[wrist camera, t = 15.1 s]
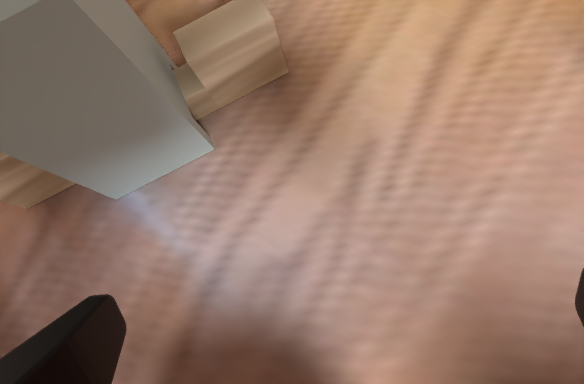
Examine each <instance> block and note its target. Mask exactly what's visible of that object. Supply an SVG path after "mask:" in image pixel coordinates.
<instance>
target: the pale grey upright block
mask: <svg viewBox="0 0 584 384" xmlns="http://www.w3.org/2000/svg"><path fill="white" fill-rule="evenodd" d="M176 68H178V67H177V66H176V65H175V64H174V62H173V61H172V60H171V58H170V57H169V56H168V55H167V53H166V52H165V51H164V49H163V48H162V47H161V46H160V44H159V43H158V42H157V40H156V39H155V38H154V37H153V35H152V34H151V33H150V31H149V30H148V29H147V28H146V26H145V25H144V24H143V22H142V21H141V20H140V19H139V17H138V16H137V15H136V13H135V12H134V11H133V10H132V8H131V7H130V6H129V4H128V3H127V2H126V1H125V0H0V152H2V153H4V154H7V155H9V156H12V157H14V158H17V159H19V160H21V161H24V162H26V163H29V164H31V165H33V166H36V167H38V168H41V169H43V170H45V171H48V172H50V173H53V174H55V175H57V176H60V177H62V178H65V179H67V180H69V181H72V182H74V183H77V184H79V185H81V186H84V187H86V188H89V189H91V190H93V191H96V192H98V193H101V194H103V195H105V196H108V197H110V198H113V199H115V200H117V199H119V198H121V197H123V196H125V195H126V194H128V193H130V192H132V191H134V190H136V189H138V188H140V187H142V186H144V185H146V184H148V183H150V182H152V181H154V180H156V179H158V178H160V177H162V176H164V175H166V174H168V173H170V172H172V171H174V170H176V169H178V168H179V167H181V166H183V165H185V164H187V163H189V162H191V161H193V160H195V159H197V158H199V157H201V156H203V155H205V154H207V153H209V152H211V151H213V150H215V148H214V146H213V144H212V141H211V139H210V137H209V135H208V134H207V133H206V132H205V131H204V130H203V129H202V127H201V126H200V125H199V124H198V123H197V122H196V121H195V120H194V119H193V117H192V115H191V113H190V111H189V108H188V106H187V104H186V101H185V99H184V97H183V95H182V92H181V90H180V88H179V85H178V83H177V81H176V78H175V76H174V74H173V72H172V70H174V69H176Z"/></svg>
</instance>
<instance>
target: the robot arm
mask: <svg viewBox="0 0 584 384" xmlns="http://www.w3.org/2000/svg"><path fill="white" fill-rule="evenodd" d="M575 307H576V311H577V313H578V316H579V318H580V320H581V322H582V324H583V327H584V268H583V270H582V273H581V277H580V281H579V285H578V289H577V293H576V297H575ZM125 335H126V322H125V320H124V318H123V316H122V313H121V311H120V309H119V307H118V305H117V303H116V301H115V299H114V297H112V296H111V295H108V294H105V295H93V296H89V297H88V298H86V299H85V300H83V301H82V302H81V303H79V304H78V305H76V306H75V307H73V308H72V309H71V310H69V311H68V312H66V313H65V314H63V315H62V316H61V317H59V318H58V319H56V320H55V321H53V322H52V323H51V324H49V325H48V326H46V327H45V328H44V329H42V330H41V331H39V332H38V333H36V334H35V335H34V336H32V337H31V338H29V339H28V340H26V341H25V342H24V343H22V344H21V345H19V346H18V347H16V348H15V349H14V350H12V351H11V352H9V353H8V354H6V355H5V356H4V357H2V358H1V359H0V384H112V380H113V377H114V373H115V370H116V366H117V363H118V359H119V356H120V353H121V349H122V346H123V342H124V339H125Z"/></svg>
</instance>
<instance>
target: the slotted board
mask: <svg viewBox="0 0 584 384" xmlns="http://www.w3.org/2000/svg"><path fill="white" fill-rule="evenodd" d="M173 34H174V36H175V38H176V40H177V42H178V45H179V47H180V49H181V51H182V53H183V55H184V57H185V59H186V62H187V63H185V64H183V65H182V66H180V67H178V68H176V69H174V70H172V72H173V74H174V76H175V78H176V81H177V83H178V85H179V88H180V90H181V92H182V95H183V97H184V99H185V101H186V104H187V106H188V108H189V111H190V113H191V115H192V117H193V119H194V120H195V121H197V120H199V119H201V118H202V117H204V116H206V115H208V114H210V113H212V112H214V111H216V110H218V109H220V108H222V107H223V106H225V105H227V104H229V103H231V102H233V101H235V100H237V99H239V98H241V97H243V96H245V95H246V94H248V93H250V92H252V91H254V90H256V89H258V88H260V87H262V86H264V85H266V84H267V83H269V82H271V81H273V80H275V79H277V78H279V77H281V76H283V75H285V74H287V73H288V72H289V69H288V66H287V63H286V60H285V56H284V53H283V50H282V47H281V43H280V40H279V37H278V33H277V30H276V27H275V24H274V20H273V17H272V15H271V14H270V12H269V10H268V8H267V7H266V5H265V3H264V1H263V0H232V1H230V2H228V3H227V4H225V5H223V6H221V7H219V8H217V9H215V10H213V11H211V12H210V13H208V14H206V15H204V16H202V17H200V18H198V19H196V20H195V21H193V22H191V23H189V24H187V25H185V26H183V27H181V28H179V29H178V30H176V31H174V32H173ZM74 184H76V183H74V182H72V181H69V180H67V179H65V178H62V177H60V176H57V175H55V174H53V173H50V172H48V171H45V170H43V169H41V168H38V167H36V166H33V165H31V164H29V163H26V162H24V161H21V160H19V159H17V158H14V157H12V156H9V155H7V154H4V153H2V152H0V202H3V203H7V204H11V205H14V206H18V207H22V208H25V209H29V208H31V207H32V206H34V205H36V204H38V203H40V202H42V201H44V200H46V199H48V198H50V197H52V196H53V195H55V194H57V193H59V192H61V191H63V190H65V189H67V188H69V187H71V186H73V185H74Z"/></svg>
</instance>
